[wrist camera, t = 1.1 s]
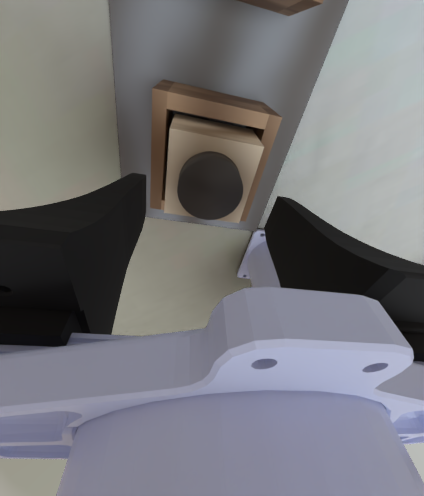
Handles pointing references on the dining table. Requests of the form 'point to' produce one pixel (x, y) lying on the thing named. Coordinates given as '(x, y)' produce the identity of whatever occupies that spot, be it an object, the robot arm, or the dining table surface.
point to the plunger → (210, 168)
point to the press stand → (215, 80)
